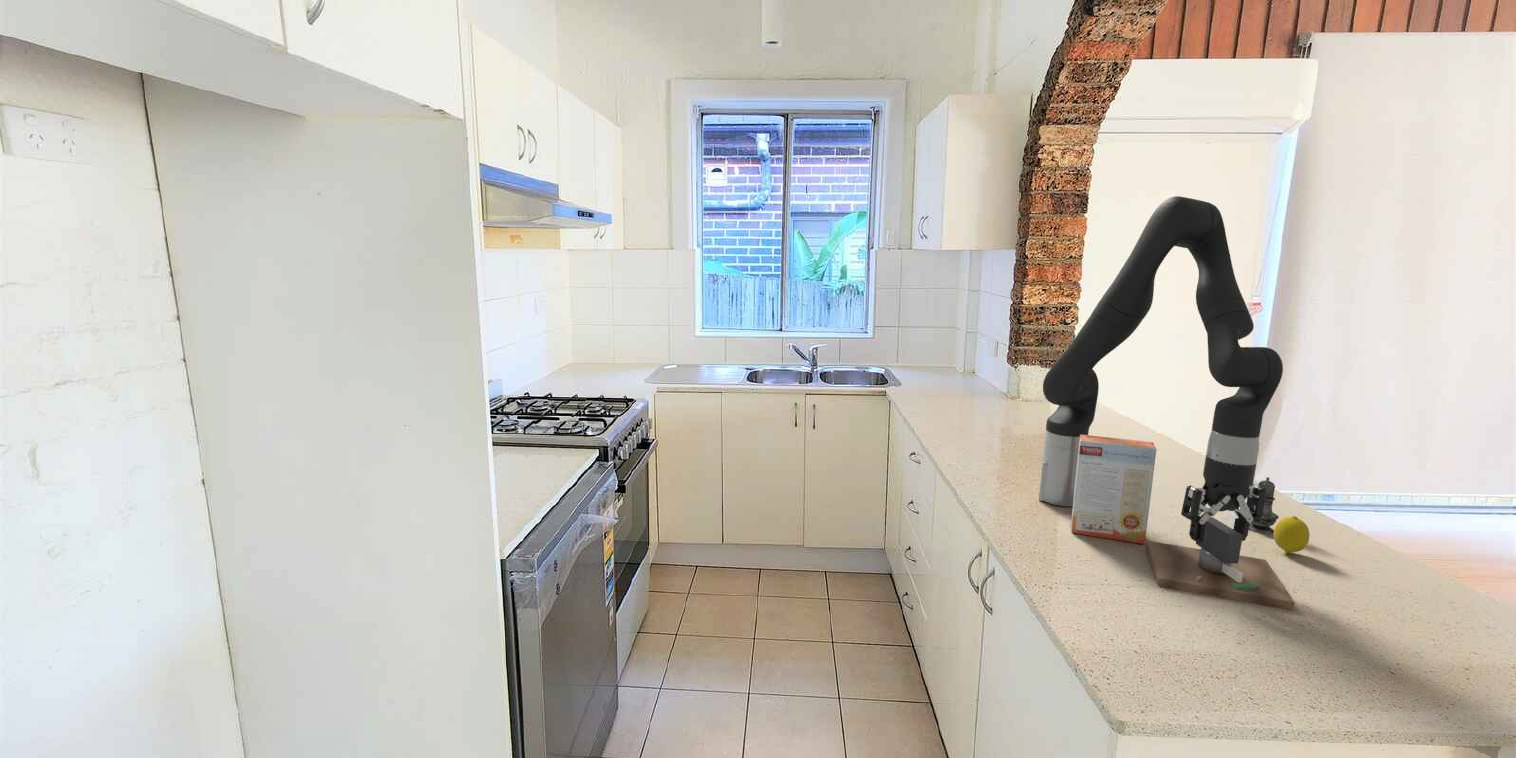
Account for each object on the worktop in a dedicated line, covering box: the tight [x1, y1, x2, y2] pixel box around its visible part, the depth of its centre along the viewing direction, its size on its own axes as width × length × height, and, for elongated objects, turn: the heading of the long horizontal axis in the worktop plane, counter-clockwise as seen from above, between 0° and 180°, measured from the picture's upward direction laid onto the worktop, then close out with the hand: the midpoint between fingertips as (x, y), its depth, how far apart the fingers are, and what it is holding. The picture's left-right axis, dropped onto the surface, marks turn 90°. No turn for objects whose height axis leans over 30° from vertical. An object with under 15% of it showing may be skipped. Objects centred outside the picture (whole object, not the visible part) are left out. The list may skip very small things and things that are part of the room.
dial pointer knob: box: [1195, 516, 1243, 582], centre depth 121 cm, size 10×5×8 cm, turn 1°
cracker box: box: [1070, 434, 1157, 545], centre depth 140 cm, size 14×6×21 cm, turn 65°
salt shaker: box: [1249, 476, 1279, 535], centre depth 144 cm, size 6×6×12 cm
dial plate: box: [1145, 540, 1295, 611], centre depth 124 cm, size 20×17×2 cm
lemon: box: [1273, 515, 1310, 555], centre depth 132 cm, size 6×6×8 cm
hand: (1217, 539), depth 122 cm, fingers open, 8 cm apart
